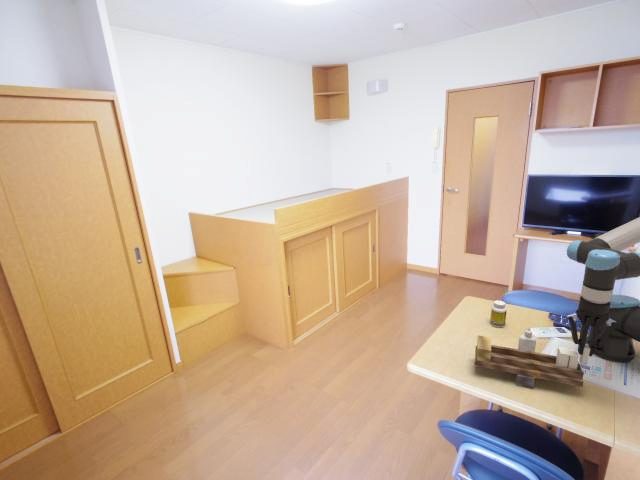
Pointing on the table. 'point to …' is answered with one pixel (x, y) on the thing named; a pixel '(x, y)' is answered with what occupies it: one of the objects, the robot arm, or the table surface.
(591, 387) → the table surface
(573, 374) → the beam
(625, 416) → the table surface
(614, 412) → the table surface
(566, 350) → the block
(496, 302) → the pill bottle
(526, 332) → the white rectangular bottle
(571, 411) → the table surface
